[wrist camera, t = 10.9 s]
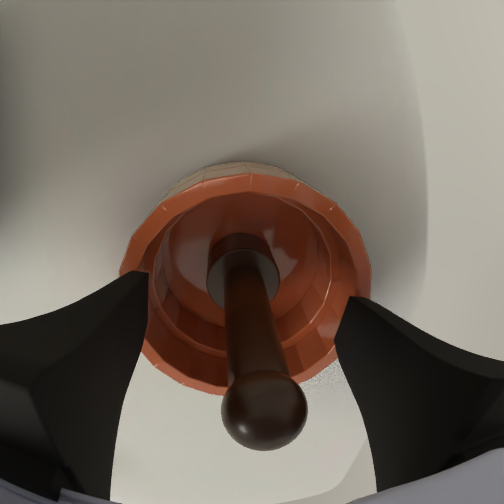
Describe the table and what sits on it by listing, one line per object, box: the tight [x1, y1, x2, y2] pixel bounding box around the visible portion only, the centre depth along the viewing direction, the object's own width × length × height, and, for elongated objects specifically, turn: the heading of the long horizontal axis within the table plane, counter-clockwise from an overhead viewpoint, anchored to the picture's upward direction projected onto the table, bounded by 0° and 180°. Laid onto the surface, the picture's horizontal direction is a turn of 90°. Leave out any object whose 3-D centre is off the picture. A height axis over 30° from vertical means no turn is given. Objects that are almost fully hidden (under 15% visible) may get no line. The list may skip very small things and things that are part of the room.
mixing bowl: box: [119, 161, 371, 396], centre depth 13 cm, size 9×9×4 cm
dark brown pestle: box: [206, 233, 308, 451], centre depth 10 cm, size 3×3×10 cm
